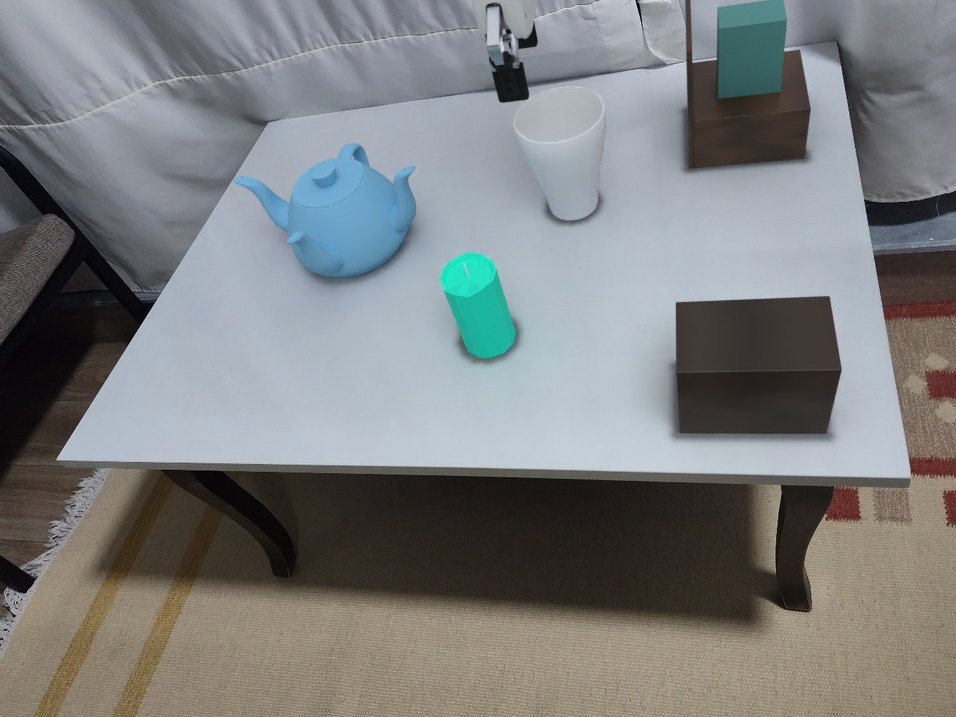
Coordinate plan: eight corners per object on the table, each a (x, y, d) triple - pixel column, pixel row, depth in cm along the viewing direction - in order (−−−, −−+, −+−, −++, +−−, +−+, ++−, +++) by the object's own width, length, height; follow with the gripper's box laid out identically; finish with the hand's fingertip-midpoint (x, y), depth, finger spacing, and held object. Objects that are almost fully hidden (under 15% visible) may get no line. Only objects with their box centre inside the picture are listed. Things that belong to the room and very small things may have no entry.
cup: (530, 237, 93) (508, 149, 83) (535, 181, 100) (515, 92, 89) (616, 229, 91) (605, 137, 80) (616, 172, 97) (605, 79, 87)
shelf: (794, 98, 98) (808, -24, 85) (804, 158, 91) (820, 35, 78) (687, 110, 101) (685, -6, 89) (688, 168, 94) (686, 52, 82)
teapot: (331, 316, 93) (289, 245, 84) (272, 244, 104) (229, 174, 95) (444, 241, 97) (416, 165, 87) (375, 179, 108) (343, 106, 98)
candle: (464, 321, 87) (435, 247, 78) (514, 313, 86) (492, 237, 77) (464, 362, 84) (434, 289, 75) (517, 354, 83) (493, 279, 74)
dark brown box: (816, 363, 73) (829, 295, 66) (826, 434, 69) (842, 369, 61) (678, 366, 77) (675, 301, 69) (679, 433, 72) (676, 372, 65)
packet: (777, 69, 91) (783, -3, 84) (780, 92, 88) (787, 19, 81) (716, 77, 93) (717, 6, 86) (717, 99, 90) (719, 28, 83)
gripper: (513, -58, 62) (547, 118, 75) (533, -145, 72) (559, 24, 85) (427, -42, 64) (474, 126, 77) (458, -129, 74) (495, 33, 87)
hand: (519, 72), depth 81 cm, fingers open, 9 cm apart
